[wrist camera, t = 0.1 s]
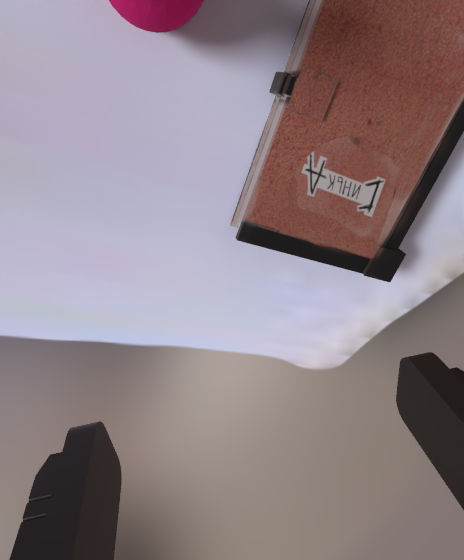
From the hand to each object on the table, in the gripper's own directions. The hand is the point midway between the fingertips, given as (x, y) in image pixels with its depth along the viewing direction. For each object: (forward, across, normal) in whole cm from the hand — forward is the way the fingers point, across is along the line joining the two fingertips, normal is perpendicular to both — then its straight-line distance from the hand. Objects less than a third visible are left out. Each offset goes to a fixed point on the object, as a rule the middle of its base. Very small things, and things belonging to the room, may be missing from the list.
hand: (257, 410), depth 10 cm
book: (+30, -16, -2) cm, 34 cm away
